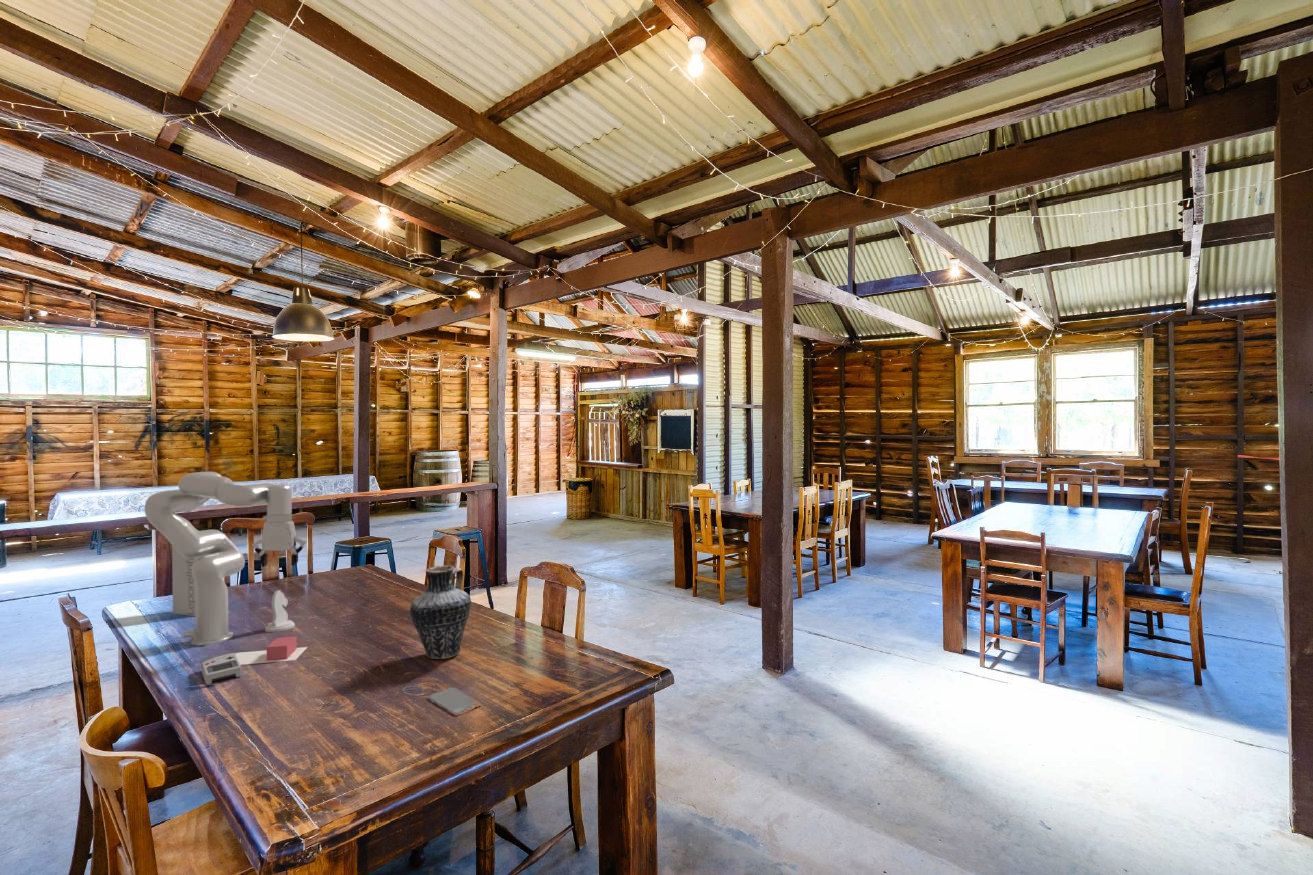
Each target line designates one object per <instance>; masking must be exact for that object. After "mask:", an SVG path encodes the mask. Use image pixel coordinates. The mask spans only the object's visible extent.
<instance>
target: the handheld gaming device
mask: <svg viewBox="0 0 1313 875" xmlns="http://www.w3.org/2000/svg"><path fill="white" fill-rule="evenodd" d="M235 654H236V653H235V652H231V653H227V654H223V655H218V656H215V657H210V658H207V659H206V660H204V661H203V662H202V663H201V667H200V668H201V673H202V677H203V679H204V683H205V685H211V684H213V681H217V680H220V679H226V678H230V677H233V676H235V678H239V677H242V673H243V672H242V671H243V670H242V665H240V663H239V661H238V659H237V657H236V655H235Z"/></svg>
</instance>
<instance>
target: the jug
mask: <svg viewBox="0 0 1313 875" xmlns="http://www.w3.org/2000/svg"><path fill="white" fill-rule="evenodd" d="M425 574H426V578H427V582H428V584H427V589H426V590H425V591H424V592H423V593H422V594H420V595H418V596H417V597H415V599H413V601H412V603H411V604H410V608H409V610H410V611H409V613H410V617H411V621H412V623H413V625H414V628H415V630H416V632H417V634H418V637H419V639H420V642H421V644H422V647H423V649H424V651H425V654H426V657H428V658H429V659H433V660H441V659H443V660H444V659H449V658H452V657H455V656H457V655H459V653H460V652H461V644H462V640H463V636H464V632H465V628H466V624H467V621H468V619H469V617H470V611H471V606H472V599H471V596H470V595H469V594H468V593H467V592H466V591H464V590H462V586H463V579H464V570H462V568H459V567H454V566H452V565H445V564H444V565H437V566H433V567H427V568H426V570H425ZM454 575H455V576H456V578H455V583H454V584H455V586H454V584H453V576H454Z"/></svg>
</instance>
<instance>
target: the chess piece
mask: <svg viewBox="0 0 1313 875" xmlns="http://www.w3.org/2000/svg"><path fill="white" fill-rule="evenodd" d="M288 604H289V602H288V598H286V596H285V593H284V592H282V591H281V589H280V590H279V589H277V590H275V591H274V593H273V594H272V597H271V610H272V611H271V612H272V614H273V615H272V616H273V617H272V618H273V619H272V622H269V623H268V624H267V625H266V626H265V628H264V631H265V632H267V633H279V632H283V631H284V630H285V631H289V630H291V629H293V628H295V626H296V624H295V622H294V621H293V620H290V619H288V618H289V617H288V616H289V615H288V612H287V610H285V608H284V607H287V605H288ZM285 631H284V632H285Z"/></svg>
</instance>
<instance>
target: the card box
mask: <svg viewBox="0 0 1313 875" xmlns="http://www.w3.org/2000/svg"><path fill="white" fill-rule="evenodd" d="M297 646H298V645H297V636H285V637H276V639H274V640H273V641H272V642H271V643H270V644H269V645H268V646H267V647H266V650H267V661H270V660H281V659H288V658H289V656H290V655H291V654H292V653H293V652H294V651H295V650H296V649H297V648H298V647H297Z"/></svg>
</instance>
